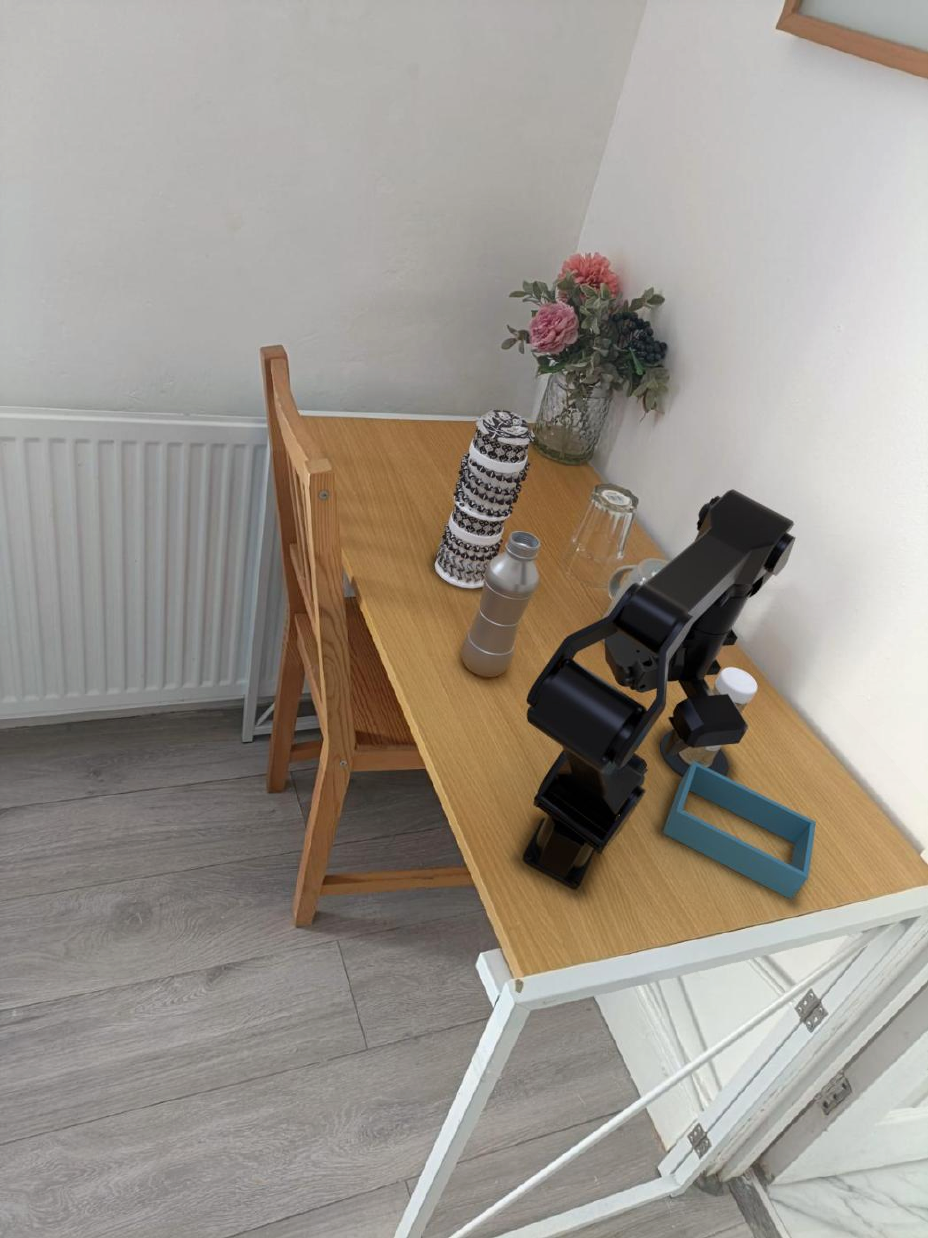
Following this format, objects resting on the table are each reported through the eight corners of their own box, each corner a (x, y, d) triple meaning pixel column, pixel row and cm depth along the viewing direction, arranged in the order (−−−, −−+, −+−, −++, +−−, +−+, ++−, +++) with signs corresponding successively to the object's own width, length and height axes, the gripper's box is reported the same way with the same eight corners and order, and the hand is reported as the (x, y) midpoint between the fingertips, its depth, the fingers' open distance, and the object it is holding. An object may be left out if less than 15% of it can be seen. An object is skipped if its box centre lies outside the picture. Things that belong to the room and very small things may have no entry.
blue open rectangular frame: (790, 900, 96) (808, 878, 94) (662, 833, 99) (676, 810, 97) (799, 843, 103) (816, 821, 101) (679, 782, 106) (693, 760, 104)
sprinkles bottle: (711, 775, 108) (759, 697, 100) (675, 762, 108) (721, 684, 100) (711, 750, 112) (758, 673, 104) (677, 738, 112) (721, 660, 104)
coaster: (721, 796, 106) (722, 795, 106) (652, 762, 108) (653, 760, 108) (733, 752, 113) (734, 750, 113) (668, 720, 115) (669, 718, 115)
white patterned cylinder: (502, 589, 129) (554, 437, 114) (444, 591, 125) (490, 434, 110) (479, 552, 135) (526, 404, 120) (424, 552, 131) (465, 399, 116)
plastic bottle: (502, 690, 111) (549, 562, 99) (452, 673, 111) (492, 544, 99) (510, 659, 116) (556, 535, 105) (462, 643, 116) (502, 517, 105)
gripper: (593, 552, 87) (553, 662, 98) (671, 692, 74) (615, 800, 85) (690, 551, 91) (642, 656, 101) (780, 684, 78) (714, 789, 88)
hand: (650, 720), depth 94 cm, fingers open, 9 cm apart
